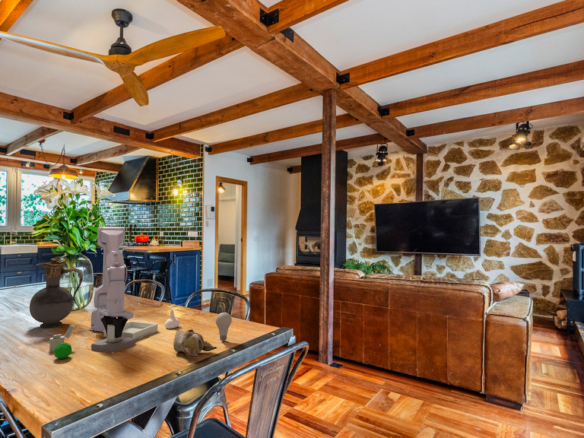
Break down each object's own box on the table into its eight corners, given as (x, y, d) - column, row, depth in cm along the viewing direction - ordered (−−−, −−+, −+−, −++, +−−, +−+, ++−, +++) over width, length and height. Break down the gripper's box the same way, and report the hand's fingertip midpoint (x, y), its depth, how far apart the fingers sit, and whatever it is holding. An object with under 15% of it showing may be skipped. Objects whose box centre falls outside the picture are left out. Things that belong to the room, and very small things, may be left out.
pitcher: (27, 326, 145) (30, 256, 147) (79, 319, 158) (81, 255, 159) (29, 332, 137) (32, 258, 138) (83, 324, 150) (86, 256, 151)
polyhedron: (68, 354, 114) (69, 339, 114) (74, 357, 111) (74, 343, 111) (51, 358, 110) (51, 343, 110) (56, 362, 107) (56, 347, 107)
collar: (91, 349, 119) (91, 343, 119) (113, 340, 128) (114, 335, 128) (113, 353, 116) (113, 347, 116) (135, 343, 125) (135, 338, 125)
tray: (103, 337, 132) (104, 329, 132) (130, 327, 145) (130, 320, 146) (132, 341, 128) (132, 333, 128) (157, 331, 141) (157, 323, 141)
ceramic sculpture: (188, 321, 125) (219, 330, 117) (187, 345, 125) (217, 355, 117) (165, 329, 115) (196, 339, 108) (163, 354, 115) (195, 366, 108)
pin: (106, 347, 121) (107, 324, 121) (113, 344, 124) (114, 322, 124) (113, 348, 120) (114, 325, 120) (120, 345, 123) (121, 323, 123)
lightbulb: (234, 339, 132) (234, 311, 132) (226, 344, 126) (226, 315, 126) (220, 337, 134) (221, 310, 134) (212, 342, 128) (212, 313, 128)
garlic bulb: (174, 330, 144) (175, 311, 144) (161, 328, 145) (162, 310, 145) (182, 326, 150) (182, 308, 150) (169, 325, 151) (170, 307, 151)
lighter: (49, 351, 116) (50, 328, 116) (49, 350, 117) (50, 327, 117) (74, 347, 120) (74, 325, 120) (73, 346, 122) (74, 324, 122)
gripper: (90, 299, 121) (89, 337, 120) (123, 302, 117) (121, 342, 116) (106, 296, 128) (105, 332, 127) (137, 299, 123) (136, 336, 123)
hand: (114, 336), depth 122 cm, fingers closed on pin, 3 cm apart
